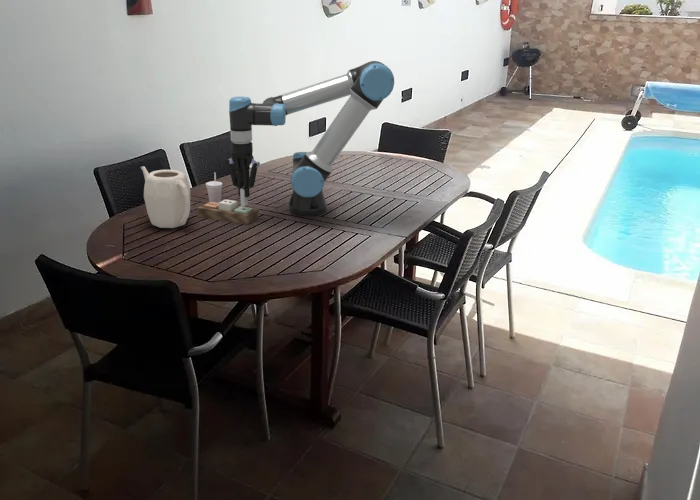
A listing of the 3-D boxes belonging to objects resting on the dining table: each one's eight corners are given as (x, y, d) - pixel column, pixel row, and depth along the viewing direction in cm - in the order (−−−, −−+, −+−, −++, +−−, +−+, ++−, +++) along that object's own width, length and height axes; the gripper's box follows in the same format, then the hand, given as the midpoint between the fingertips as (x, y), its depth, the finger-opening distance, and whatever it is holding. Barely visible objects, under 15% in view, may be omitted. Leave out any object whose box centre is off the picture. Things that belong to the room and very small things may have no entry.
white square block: (237, 210, 229) (237, 200, 228) (230, 213, 225) (230, 204, 223) (225, 208, 231) (225, 199, 229) (218, 211, 226) (218, 202, 225)
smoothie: (219, 210, 236) (218, 175, 231) (204, 208, 237) (202, 173, 232) (226, 205, 242) (224, 171, 237) (210, 204, 243) (209, 169, 238)
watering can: (163, 210, 233) (159, 162, 226) (208, 226, 218) (205, 175, 211) (127, 219, 222) (122, 169, 215) (172, 237, 207) (168, 183, 200)
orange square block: (222, 212, 232) (222, 203, 230) (215, 216, 227) (215, 206, 226) (211, 210, 233) (210, 201, 232) (204, 214, 229) (203, 205, 228)
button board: (258, 217, 229) (258, 208, 228) (247, 224, 221) (246, 215, 220) (210, 210, 236) (210, 201, 234) (197, 216, 228) (197, 207, 227)
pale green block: (252, 217, 228) (252, 208, 226) (246, 221, 223) (245, 211, 222) (241, 215, 229) (240, 206, 228) (234, 219, 225) (233, 209, 224)
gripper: (262, 141, 217) (264, 204, 226) (231, 138, 221) (234, 200, 230) (252, 145, 211) (255, 210, 219) (220, 142, 215) (223, 205, 223)
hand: (244, 205), depth 225 cm, fingers closed
